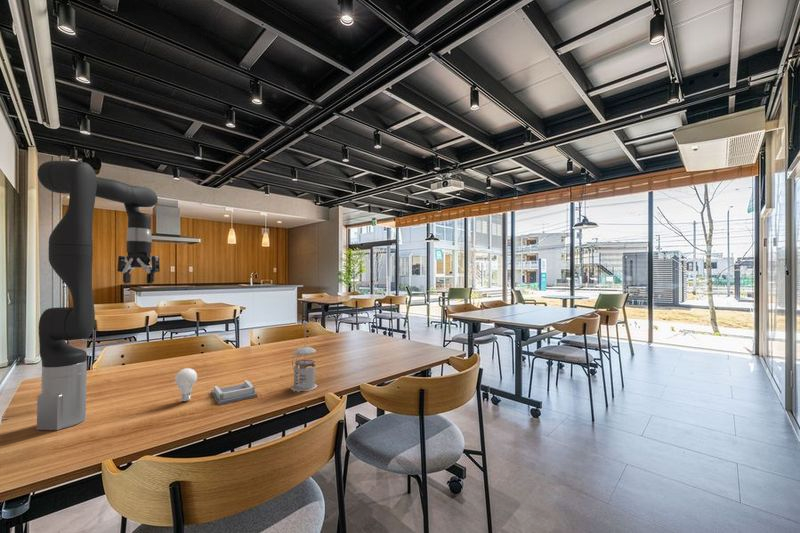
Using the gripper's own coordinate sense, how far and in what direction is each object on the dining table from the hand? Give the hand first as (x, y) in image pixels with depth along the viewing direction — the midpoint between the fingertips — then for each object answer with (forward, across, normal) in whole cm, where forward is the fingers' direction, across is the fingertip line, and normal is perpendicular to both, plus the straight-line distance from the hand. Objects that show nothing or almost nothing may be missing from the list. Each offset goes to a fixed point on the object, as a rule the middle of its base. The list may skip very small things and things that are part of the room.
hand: (138, 283), depth 129 cm
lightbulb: (+39, +27, -13) cm, 50 cm away
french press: (+39, +62, +2) cm, 74 cm away
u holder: (+39, +40, -7) cm, 57 cm away
